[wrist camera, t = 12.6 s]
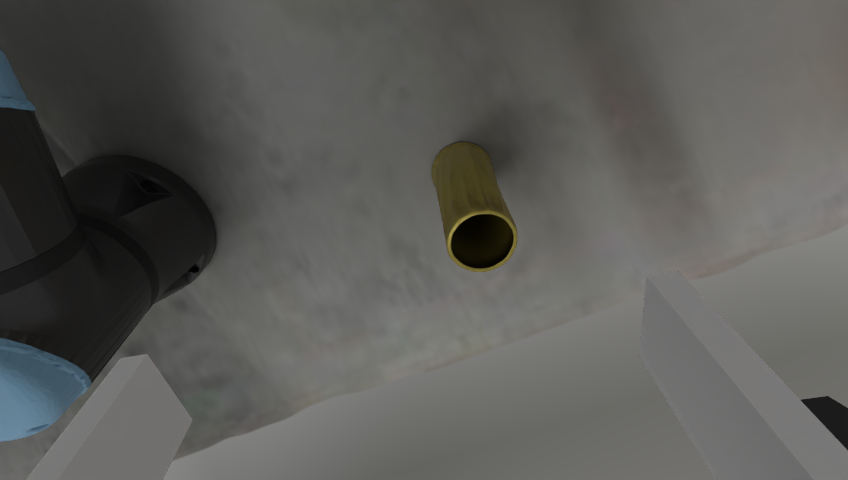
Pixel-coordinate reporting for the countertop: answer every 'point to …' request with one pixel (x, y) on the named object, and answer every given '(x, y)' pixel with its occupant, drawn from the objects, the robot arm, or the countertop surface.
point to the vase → (473, 209)
